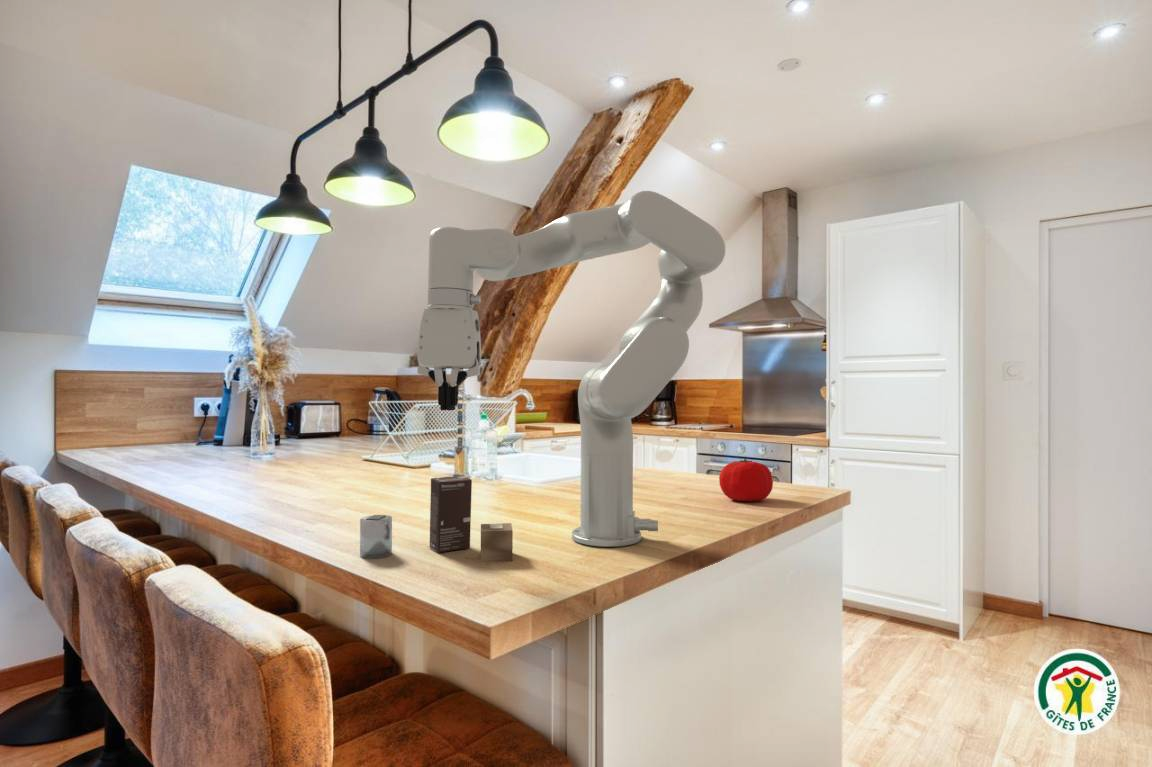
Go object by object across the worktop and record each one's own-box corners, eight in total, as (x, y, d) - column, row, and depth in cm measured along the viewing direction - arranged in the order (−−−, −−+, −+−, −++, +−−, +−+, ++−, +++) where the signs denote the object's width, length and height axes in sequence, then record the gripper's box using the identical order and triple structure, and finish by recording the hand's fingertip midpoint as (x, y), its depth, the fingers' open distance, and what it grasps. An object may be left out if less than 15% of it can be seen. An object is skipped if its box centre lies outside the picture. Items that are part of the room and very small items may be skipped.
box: (438, 554, 101) (438, 481, 101) (429, 548, 105) (429, 477, 105) (472, 549, 105) (472, 478, 105) (462, 543, 109) (462, 475, 108)
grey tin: (396, 551, 103) (396, 514, 103) (384, 559, 98) (384, 520, 98) (368, 550, 104) (368, 513, 104) (354, 558, 99) (354, 519, 99)
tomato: (778, 505, 143) (779, 461, 143) (724, 504, 144) (724, 460, 144) (764, 496, 155) (764, 455, 155) (713, 495, 155) (714, 455, 155)
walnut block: (511, 552, 103) (511, 521, 103) (512, 561, 98) (512, 529, 98) (480, 554, 102) (480, 522, 102) (480, 562, 97) (480, 530, 97)
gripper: (498, 305, 108) (496, 410, 108) (416, 305, 109) (413, 408, 109) (487, 299, 100) (484, 412, 100) (399, 299, 102) (396, 409, 102)
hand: (447, 409), depth 105 cm, fingers closed
